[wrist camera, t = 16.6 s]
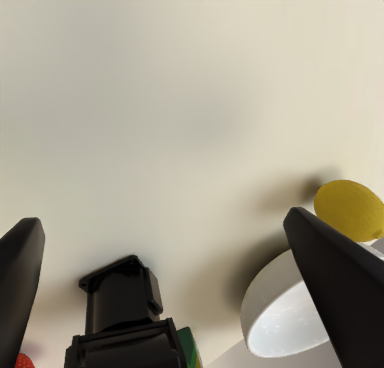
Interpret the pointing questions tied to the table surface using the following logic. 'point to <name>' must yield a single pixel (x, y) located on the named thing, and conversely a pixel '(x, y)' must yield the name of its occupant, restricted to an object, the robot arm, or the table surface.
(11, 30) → the table surface
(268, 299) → the serving bowl
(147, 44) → the table surface
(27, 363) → the fruit
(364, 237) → the lemon
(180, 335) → the crayon box
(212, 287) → the table surface
